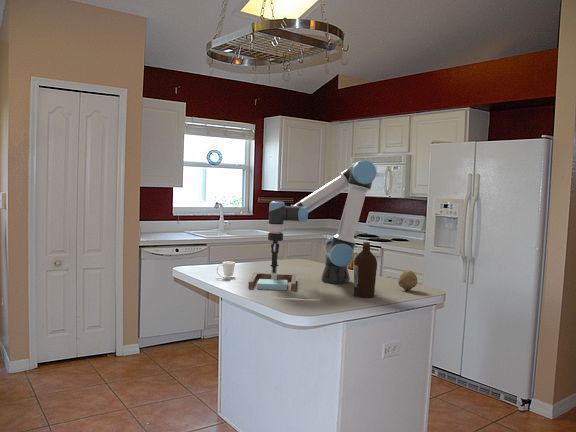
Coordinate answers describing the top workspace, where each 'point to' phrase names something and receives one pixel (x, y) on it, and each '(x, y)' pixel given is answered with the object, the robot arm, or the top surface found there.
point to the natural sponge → (407, 280)
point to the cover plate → (272, 284)
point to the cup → (227, 269)
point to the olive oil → (365, 273)
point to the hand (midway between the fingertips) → (273, 279)
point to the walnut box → (273, 279)
